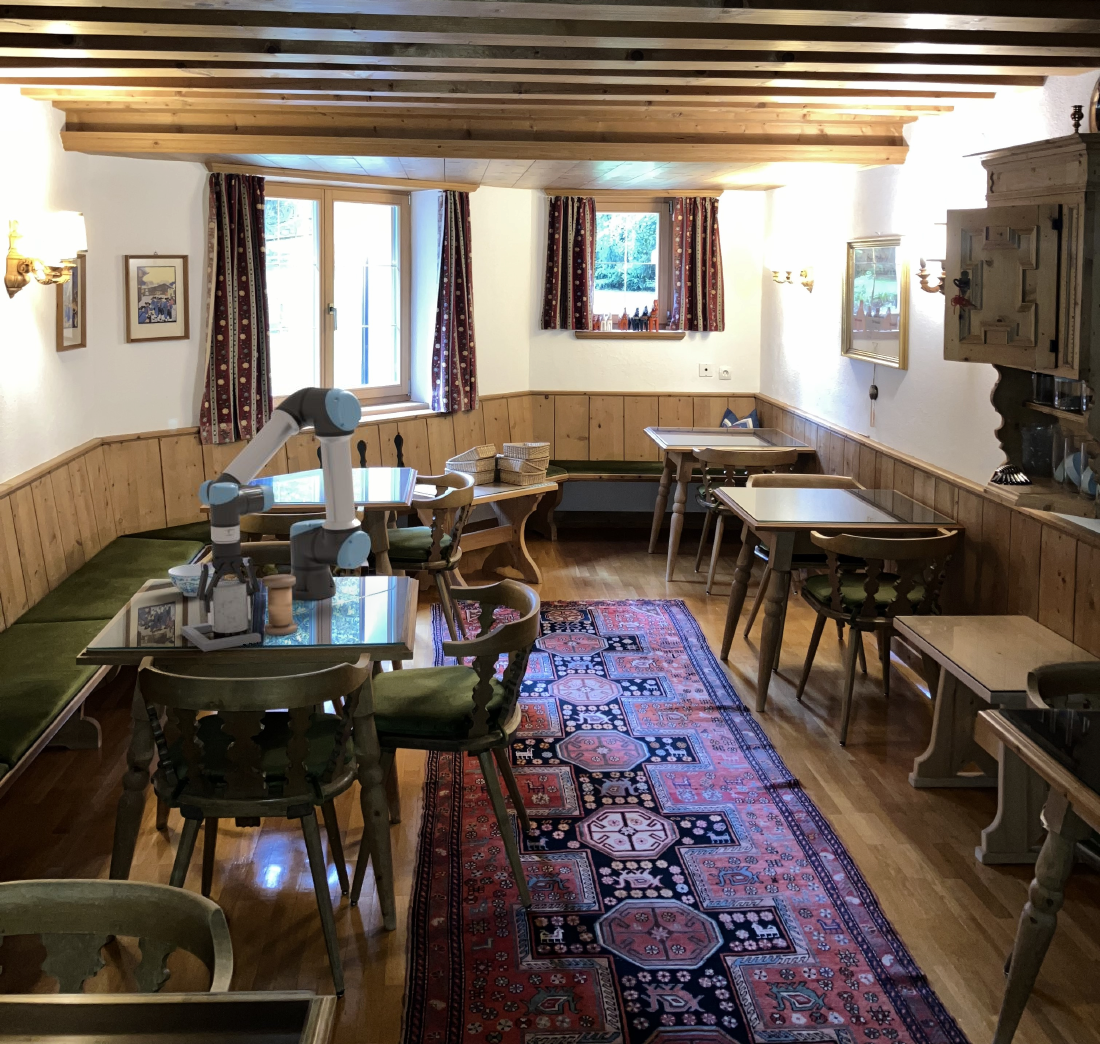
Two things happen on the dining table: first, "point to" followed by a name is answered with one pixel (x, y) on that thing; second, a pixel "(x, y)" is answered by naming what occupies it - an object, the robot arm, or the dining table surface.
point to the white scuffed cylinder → (230, 606)
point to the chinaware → (188, 578)
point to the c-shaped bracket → (207, 645)
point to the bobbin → (279, 604)
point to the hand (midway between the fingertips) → (229, 620)
